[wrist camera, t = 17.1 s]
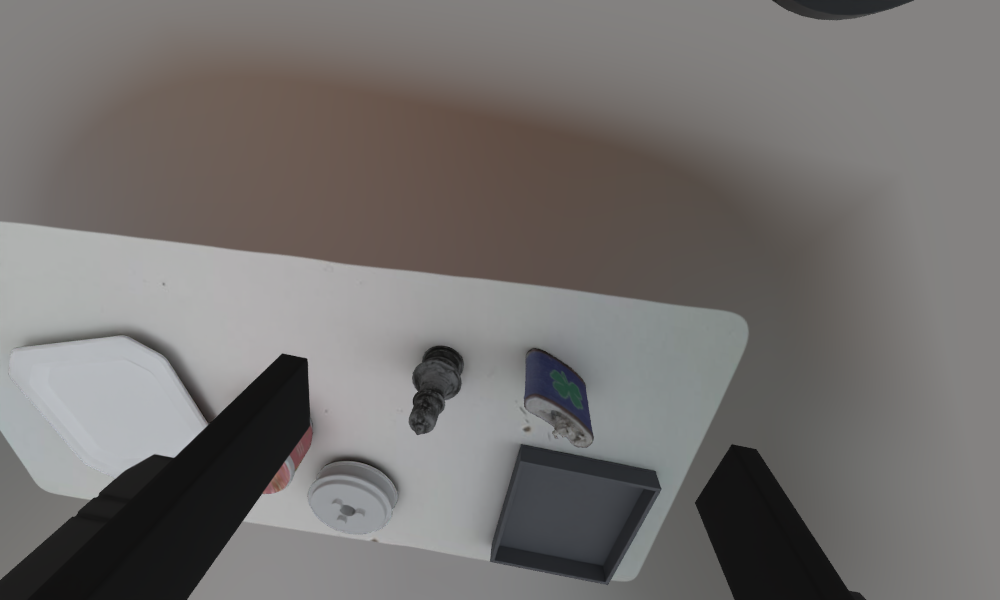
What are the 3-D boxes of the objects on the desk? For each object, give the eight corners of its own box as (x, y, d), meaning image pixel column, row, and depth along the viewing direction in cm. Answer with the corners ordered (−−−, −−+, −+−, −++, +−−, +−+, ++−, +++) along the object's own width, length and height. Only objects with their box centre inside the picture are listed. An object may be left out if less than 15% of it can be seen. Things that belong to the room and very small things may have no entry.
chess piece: (472, 353, 48) (454, 423, 37) (458, 388, 51) (437, 463, 40) (427, 337, 47) (395, 403, 37) (415, 373, 50) (382, 445, 39)
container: (269, 449, 59) (232, 496, 51) (237, 394, 54) (192, 437, 47) (333, 444, 57) (304, 492, 50) (306, 388, 53) (270, 431, 45)
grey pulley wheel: (415, 498, 61) (405, 529, 56) (354, 519, 64) (341, 550, 60) (365, 445, 57) (350, 474, 52) (302, 471, 60) (284, 500, 56)
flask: (521, 356, 48) (518, 419, 38) (537, 341, 46) (538, 402, 37) (575, 397, 50) (585, 466, 40) (592, 384, 49) (607, 451, 39)
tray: (520, 444, 54) (520, 461, 51) (655, 471, 54) (661, 489, 52) (491, 543, 64) (490, 561, 62) (605, 566, 64) (607, 585, 62)
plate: (6, 343, 53) (-15, 352, 51) (160, 325, 50) (145, 334, 48) (111, 470, 64) (98, 482, 62) (245, 462, 60) (235, 474, 58)
